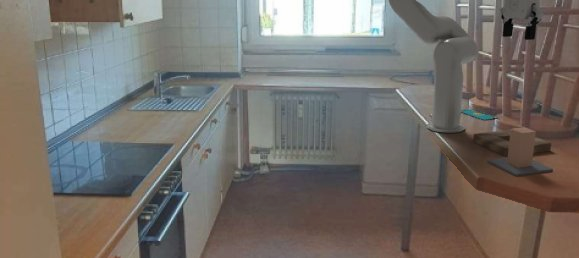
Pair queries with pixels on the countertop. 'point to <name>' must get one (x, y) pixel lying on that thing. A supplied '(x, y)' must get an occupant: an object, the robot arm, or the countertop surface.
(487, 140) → the pocket board
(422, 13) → the robot arm
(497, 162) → the mat
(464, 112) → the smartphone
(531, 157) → the block
